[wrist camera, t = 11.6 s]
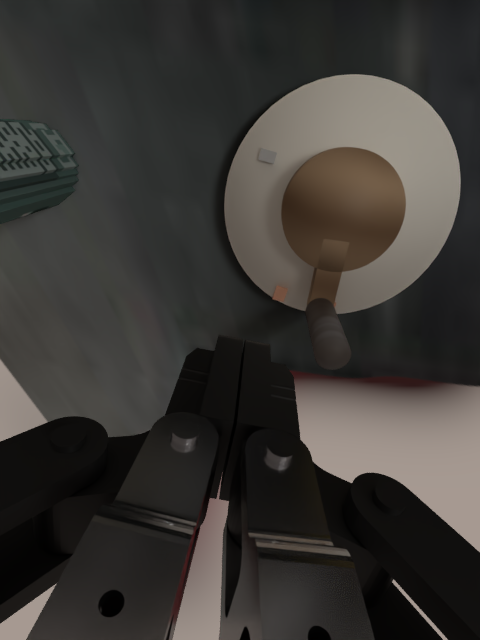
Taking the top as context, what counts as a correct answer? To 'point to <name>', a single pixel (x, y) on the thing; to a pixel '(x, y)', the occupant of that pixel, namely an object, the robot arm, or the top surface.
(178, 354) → the top surface
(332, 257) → the brown disc with handle
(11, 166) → the green patterned block
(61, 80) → the top surface
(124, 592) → the robot arm
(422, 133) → the dial base
